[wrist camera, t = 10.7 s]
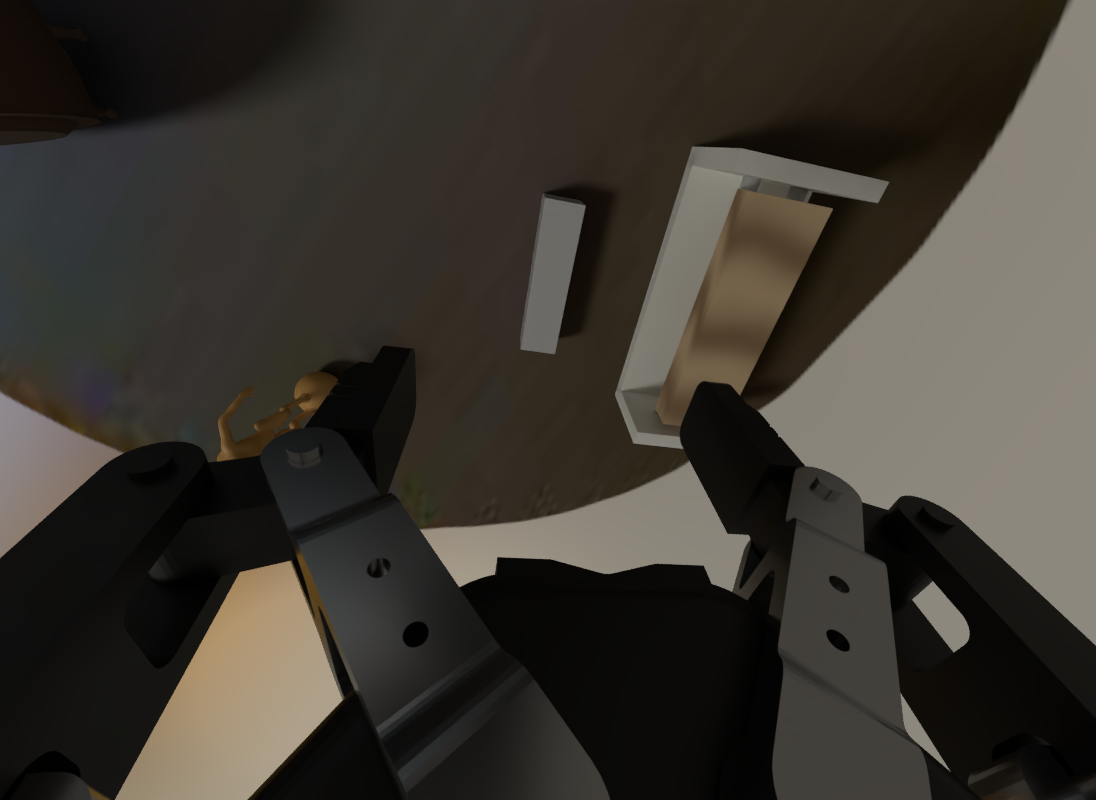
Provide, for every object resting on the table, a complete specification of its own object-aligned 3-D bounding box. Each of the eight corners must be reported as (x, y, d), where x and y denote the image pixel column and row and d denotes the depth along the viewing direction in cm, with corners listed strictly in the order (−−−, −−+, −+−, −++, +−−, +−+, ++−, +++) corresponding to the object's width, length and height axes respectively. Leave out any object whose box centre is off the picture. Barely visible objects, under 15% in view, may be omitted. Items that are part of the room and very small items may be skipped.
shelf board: (737, 188, 28) (755, 192, 26) (809, 203, 28) (833, 208, 26) (654, 407, 37) (663, 424, 35) (710, 414, 38) (722, 430, 36)
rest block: (542, 193, 32) (545, 197, 29) (580, 200, 32) (585, 205, 30) (520, 335, 38) (520, 349, 35) (552, 340, 38) (554, 354, 36)
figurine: (365, 413, 41) (316, 502, 31) (308, 424, 42) (241, 514, 32) (328, 339, 37) (256, 414, 27) (264, 351, 37) (170, 430, 27)
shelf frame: (692, 146, 31) (741, 148, 24) (811, 173, 32) (889, 181, 25) (615, 394, 42) (633, 443, 35) (705, 405, 43) (739, 454, 37)
